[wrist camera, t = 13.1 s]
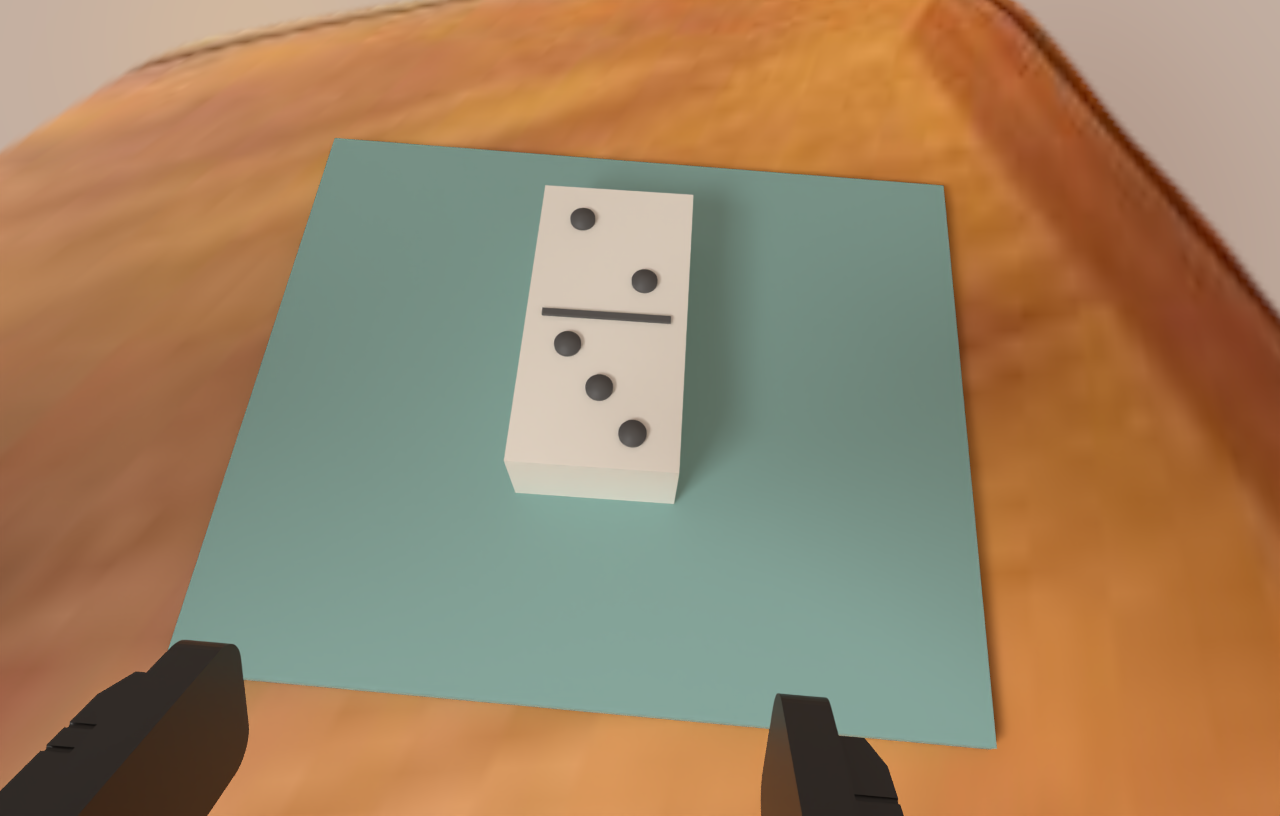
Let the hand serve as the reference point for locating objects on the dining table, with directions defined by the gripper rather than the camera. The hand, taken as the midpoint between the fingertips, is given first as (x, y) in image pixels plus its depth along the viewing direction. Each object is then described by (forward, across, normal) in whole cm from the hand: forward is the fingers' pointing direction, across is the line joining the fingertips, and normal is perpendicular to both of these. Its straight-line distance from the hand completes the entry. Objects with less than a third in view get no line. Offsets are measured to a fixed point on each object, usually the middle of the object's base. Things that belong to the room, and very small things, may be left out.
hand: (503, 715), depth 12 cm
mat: (+19, 0, +2) cm, 19 cm away
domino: (+14, 0, +3) cm, 15 cm away
